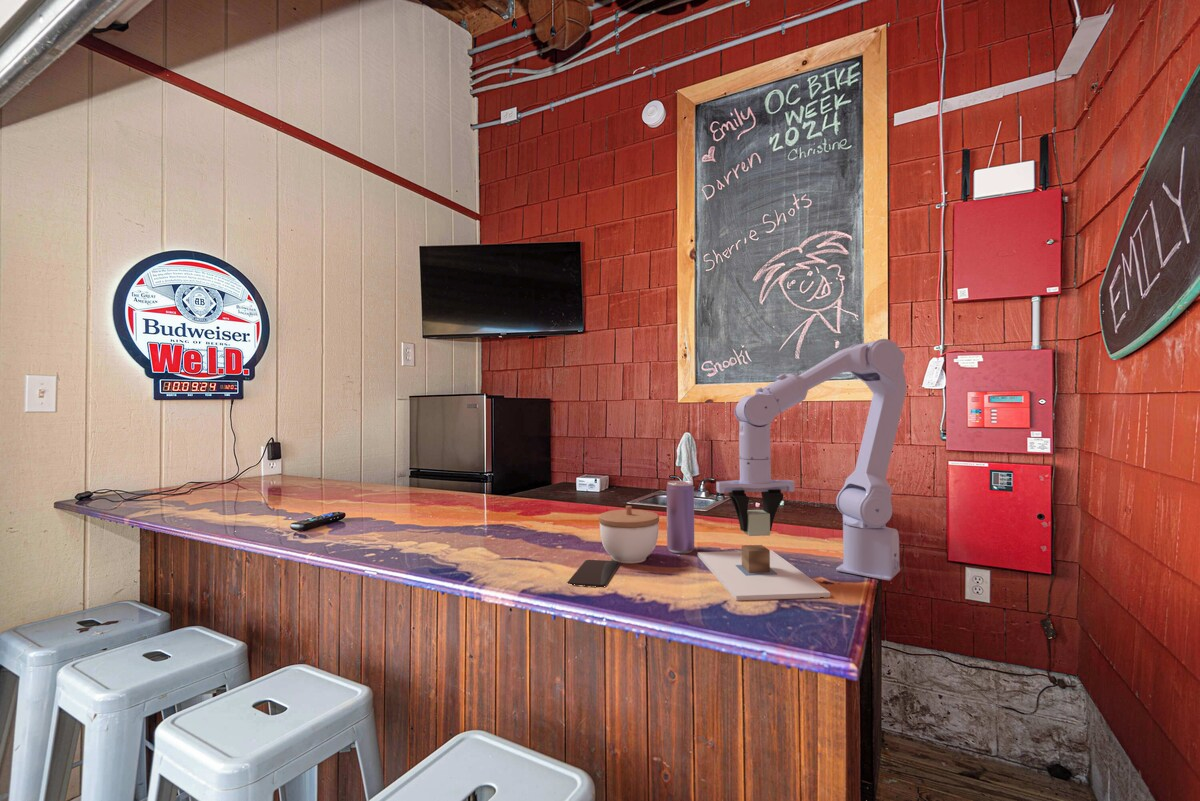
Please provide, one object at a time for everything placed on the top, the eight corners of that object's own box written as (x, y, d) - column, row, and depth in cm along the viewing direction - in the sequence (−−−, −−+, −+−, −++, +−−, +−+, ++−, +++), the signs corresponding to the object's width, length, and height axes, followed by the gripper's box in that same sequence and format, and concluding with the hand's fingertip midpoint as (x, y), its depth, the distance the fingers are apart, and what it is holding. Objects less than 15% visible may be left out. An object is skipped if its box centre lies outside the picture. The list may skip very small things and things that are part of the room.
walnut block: (762, 565, 106) (761, 544, 106) (769, 572, 102) (769, 550, 102) (741, 566, 106) (741, 545, 106) (748, 572, 102) (748, 551, 102)
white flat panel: (771, 553, 117) (771, 549, 117) (830, 597, 91) (830, 591, 91) (697, 555, 116) (697, 551, 116) (736, 600, 90) (736, 595, 90)
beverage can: (694, 554, 117) (693, 484, 117) (666, 553, 118) (665, 484, 118) (694, 547, 123) (694, 480, 123) (668, 546, 124) (667, 480, 124)
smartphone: (605, 590, 97) (620, 564, 112) (605, 585, 97) (620, 560, 112) (565, 588, 99) (585, 563, 113) (565, 583, 99) (585, 559, 113)
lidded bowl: (657, 568, 108) (657, 512, 108) (594, 566, 110) (594, 511, 110) (661, 551, 120) (660, 501, 120) (604, 549, 122) (603, 500, 122)
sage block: (762, 530, 106) (762, 509, 106) (770, 535, 102) (769, 514, 102) (741, 531, 105) (741, 510, 105) (749, 536, 101) (748, 514, 101)
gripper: (783, 455, 108) (784, 524, 108) (711, 456, 107) (712, 526, 107) (799, 459, 101) (799, 532, 101) (722, 460, 100) (722, 534, 100)
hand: (755, 530), depth 104 cm, fingers closed on sage block, 4 cm apart
